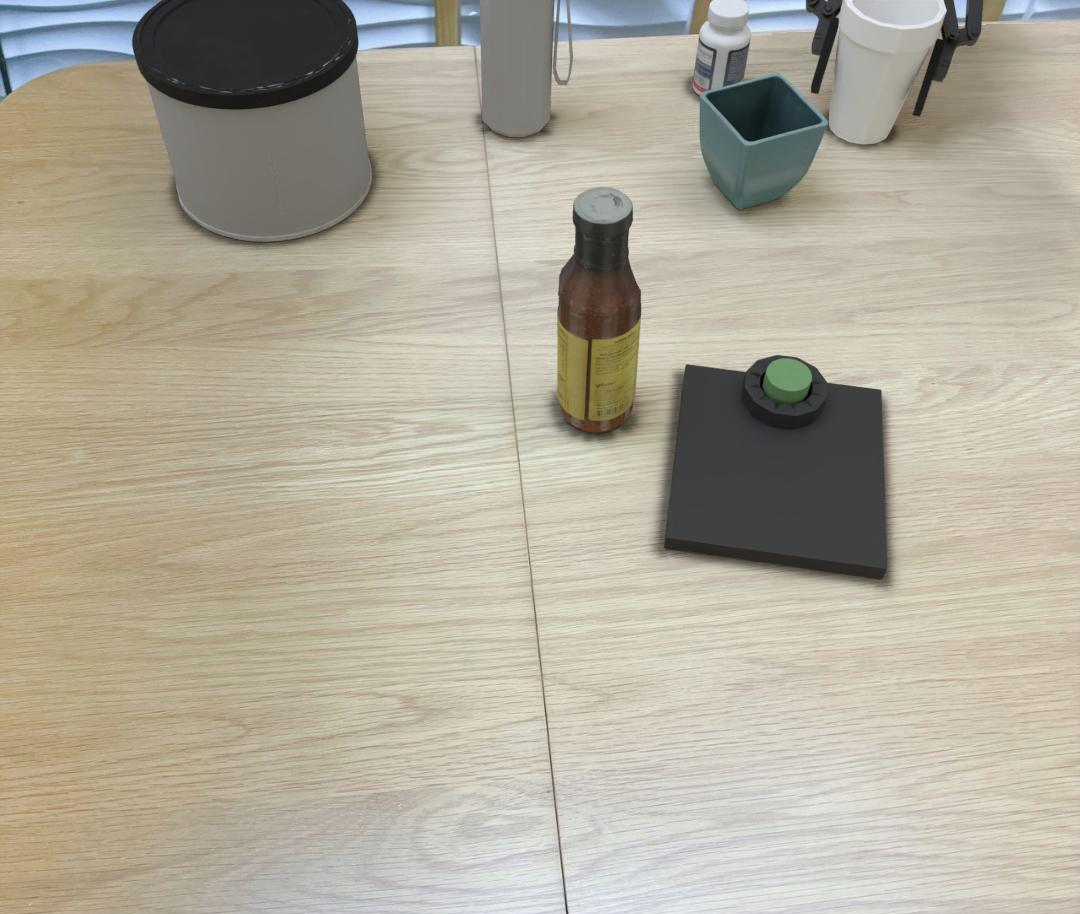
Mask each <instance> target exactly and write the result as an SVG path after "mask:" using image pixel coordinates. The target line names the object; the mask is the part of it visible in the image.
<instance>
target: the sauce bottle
mask: <svg viewBox="0 0 1080 914" xmlns="http://www.w3.org/2000/svg"><path fill="white" fill-rule="evenodd" d="M633 222H634V207H633V201H632V200H631V198H630V197H629V196H628V195H627V194H626V193H623V192H622V191H621V190H619V189H617V188H615V187H610V186H598V187H592V188H588V189H587V190H585V191H583V192H581V193H579V194H577V196H576V197H575V198H574V200H573V204H572V223H573V225H574V233H575V234H574V246H573V254H572V255H571V256H570V257H569V259H568V260H567V262H566V263H565V265H564V266H563V267H562V268H561V269H560V273H559V275H558V288H557V296H558V303H557V304H558V305H557V310H556V322H557V323H556V328H557V329H556V332H557V333H556V335H557V336H556V337H557V340H556V341H557V344H556V345H557V346H556V347H557V353H556V355H557V357H556V358H557V361H556V364H557V365H556V367H557V371H556V378H557V379H556V381H557V383H556V385H557V386H556V396H557V400H558V402H559V408H560V411H561V414H562V418H564V420H565V421H566V422H567V423H569V424H570V425H572V426H574V427H575V428H577V429H580V430H582V431H585V432H587V433H598V434H599V433H604V432H610V431H614V430H616V429H618V428H620V427H621V426H622V425H624V424H625V422H626V421H627V420H628V419H629V418H630V415H631V413H632V411H633V409H634V408H633V407H634V401H635V398H636V389H637V387H636V386H637V375H638V364H639V363H638V362H639V348H640V337H641V336H640V335H641V322H642V290H641V288H640V286H639V284H638V282H637V280H636V277H635V275H634V272H633V269H632V267H631V261H630V257H629V255H630V247H629V236H630V228H631V226H632V224H633Z"/></svg>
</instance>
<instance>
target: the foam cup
mask: <svg viewBox="0 0 1080 914" xmlns="http://www.w3.org/2000/svg"><path fill="white" fill-rule="evenodd" d="M946 12H947V10H946V7H945V4H944V0H843V2H842V6H841V10H840V13H839V14H838V18H839V27H838V36H837V44H836V53H835V61H834V70H833V78H832V86H831V93H830V94H831V95H830V104H829V111H828V127H829V130H830V131H831V132H833V134H834V135H835V136H836V137H838V138H840V139H842V140H844V141H846V142H848V143H851V144H857V145H874V144H878V143H880V142H882V141H884V140H886V139H887V138H888V136H889V135H890V133H891V131H892V129H893V127H894V125H895V123H896V121H897V119H898V116H899V114H900V112H901V110H902V108H903V107H904V104H905V102H906V100H907V98H908V95H909V93H910V91H911V89H912V87H913V85H914V83H915V82H916V79H917V77H918V76H919V75H918V74H919V73H920V70H921V69H922V66H923V64H924V62H925V60H926V57H927V56H928V54H929V52H930V49H931V48H932V46H933V45H934V44H935V43H936V40H937V39H938V37H939V35H940V34H941V27H942V24H943V21H944V18H945V15H946Z"/></svg>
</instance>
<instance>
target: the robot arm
mask: <svg viewBox="0 0 1080 914" xmlns="http://www.w3.org/2000/svg"><path fill="white" fill-rule="evenodd" d="M842 2H843V0H805V10H806V12H808V13H809V14H813V15H814V16H816V17H817V19H818V20H817V25H816V28H815V31H814V35H813V37H812V42H811V55H814V56H818V61H817V65H816V68H815V70H814V74H813V78H812V80H811V84H810V94H815V95H819V93H820V90H821V87H822V83H823V80H824V77H825V74H826V70H827V67H828V64H829V60H830V57H831V53H832V50H833V47H834V44H835V40H836V37H837V34H838V32H839V27H840V23H839V17H838V16H839V14H840V10H841V6H842ZM944 4H945V7H946V10H947V12H946V15H945V18H944V21H943V24H942V27H941V30H940V34H941V38H936V40H935V42H934V44H933V45H934V46H933V48H932V51H931V54H930V57H929V61H928V64H927V67H926V71H925V72H924V73H925V74H924V76H923V80H922V83H921V86H920V88H919V89H920V90H919V92H918V96H917V99H916V101H915V105H914V108H913V111H912V114H911V116H912V117H913V116H914V117H918V118H920V117H921V115H922V113H923V110H924V107H925V104H926V100H927V98H928V96H929V92H930V89H931V86H932V82H933V81H935V82H939V83H942V82H943V81H944V80H945V78H947V75H948V73H949V69H950V66H951V63H952V60H953V57H954V54H955V51H956V49H958V48H959V47H965V46H966V47H973V46H974V45H976V43H977V42H978V40H979V38H980V36H981V34H982V26H983V25H982V24H983V12H984V11H983V10H984V0H966V4H965V18H964V19H965V20H964V27H961V28H960V27H959V22H958V21H959V20H958V16H957V10H956V7H955V6H956V4H955V0H944Z"/></svg>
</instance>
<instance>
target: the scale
mask: <svg viewBox="0 0 1080 914" xmlns="http://www.w3.org/2000/svg"><path fill="white" fill-rule="evenodd" d="M783 358H789V359H794V360H797V361H800V362H801V363H803V364H805V365H806V366H807V367H808V368H809V370H810V371H811V374H812V381H811V384H810V387H809V390H808V394H807V396H806V397H805V398H804V399H803V400H802V401H800V402H798V403H795V404H785V403H778V402H776V401H775V400H773V399H771V398H769V397H768V396H767V395H766V393H765V392H764V389H763V381H764V377H765V373H766V370H767V367H768V366H769V364H770V363H772V362H773V361H775V360H778V359H783ZM882 396H883V395H882V389H881V388H874V387H873V388H871V387H863V386H858V385H850V384H849V385H848V384H842V383H834V382H828V381H827V379H826V378H825V377H824V376H823V374H822V373H821V371H820V370H819V369H818V367H816V366H814V365H813V364H811V363H809V362H807V361H805V360H803V359H801V358H800V357H798V356H790V355H781V354H775V355H771V356H767V357H763V358H759V359H756V360H755V362H754V363H752V365H751V366H750V367H749V368H748V369H747V370H745V371H742V370H736V369H735V370H733V369H727V368H719V367H711V366H704V365H696V364H688V363H687V364H685V366H684V370H683V377H682V386H681V394H680V403H679V411H678V421H677V428H676V437H675V446H674V447H675V448H674V455H673V464H672V473H671V481H670V491H669V498H668V506H667V507H668V508H667V515H666V524H665V533H664V534H665V535H664V542H663V549H667V550H673V551H681V552H686V553H687V552H688V553H695V554H702V555H709V556H714V557H715V556H716V557H722V558H731V559H735V560H744V561H751V562H757V563H766V564H770V565H771V564H772V565H778V566H786V567H791V568H800V569H806V570H807V569H808V570H814V571H820V572H827V573H834V574H842V575H849V576H855V577H862V578H863V577H864V578H870V579H877V580H883V579H884V577H885V575H886V573H887V570H888V553H887V552H888V549H887V519H886V518H887V516H886V487H885V460H884V459H885V457H884V430H883V429H884V428H883V397H882Z"/></svg>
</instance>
